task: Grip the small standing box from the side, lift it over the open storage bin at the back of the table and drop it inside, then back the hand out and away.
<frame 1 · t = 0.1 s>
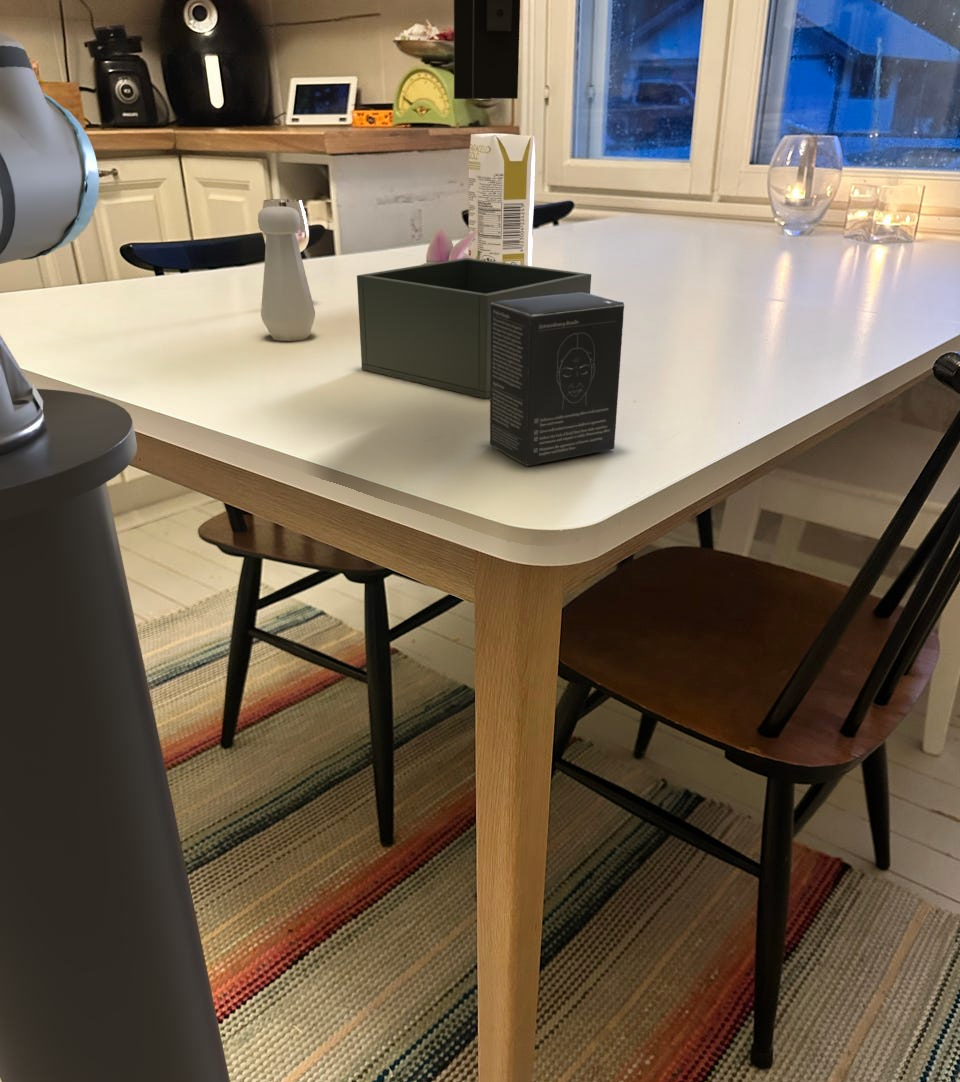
hand: (482, 99, 62), 23 cm above the table, tool pointing down, fingers open, 13 cm apart
lily: (442, 311, 115), on the table
salt shaker: (290, 338, 101), on the table
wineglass: (292, 305, 118), on the table
box: (550, 451, 69), on the table
open storage bin: (474, 368, 90), on the table
juice carton: (499, 286, 131), on the table
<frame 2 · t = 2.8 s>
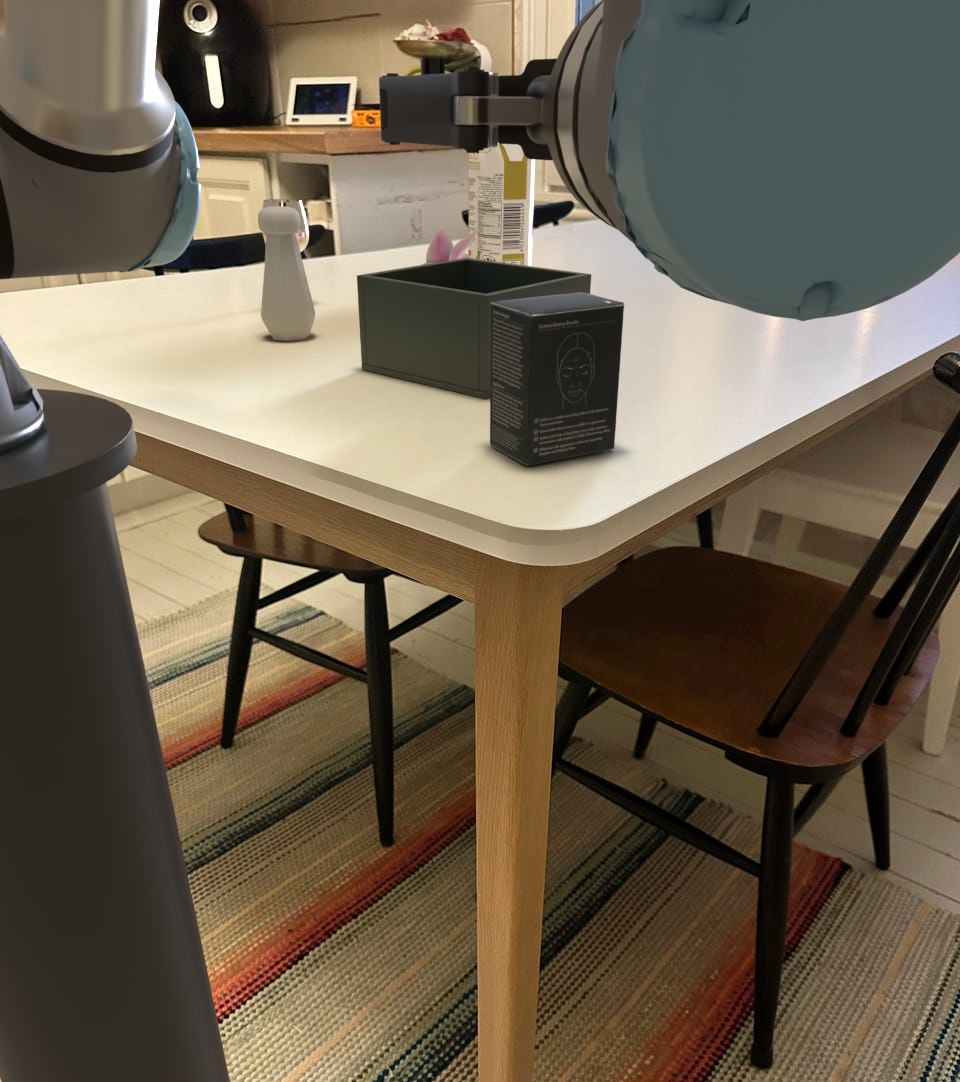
hand: (587, 110, 47), 22 cm above the table, tool horizontal, fingers open, 13 cm apart
nothing on the table moved.
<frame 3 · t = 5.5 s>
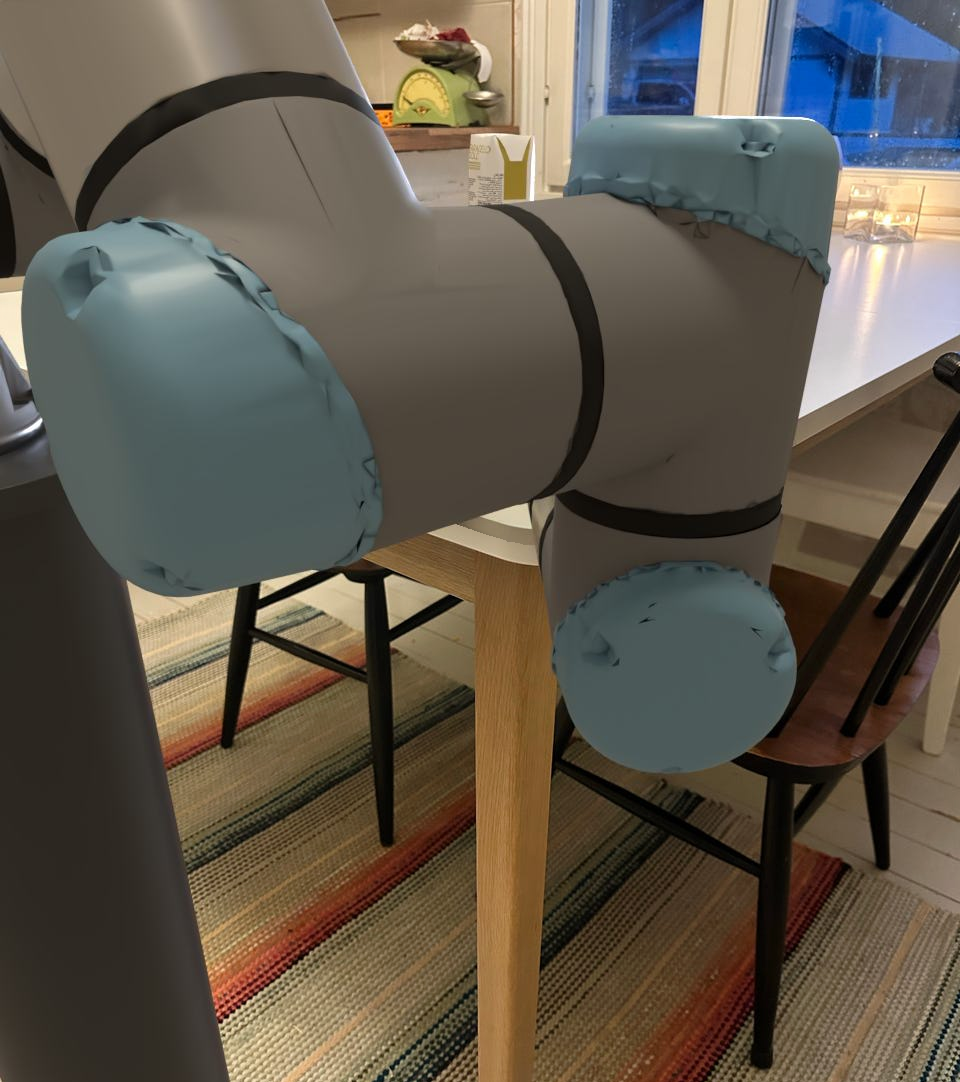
hand: (565, 386, 60), 6 cm above the table, tool horizontal, fingers open, 13 cm apart
nothing on the table moved.
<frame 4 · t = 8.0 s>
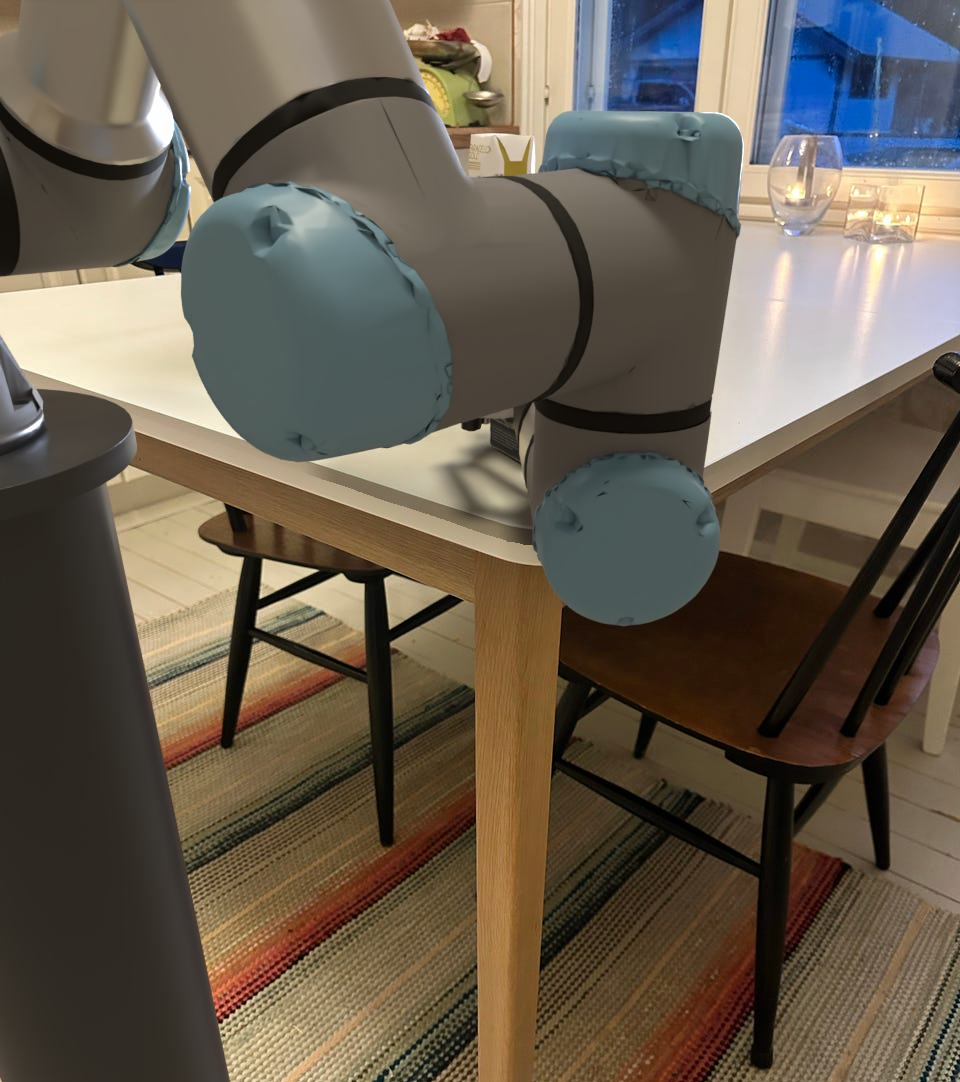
hand: (549, 346, 69), 6 cm above the table, tool horizontal, fingers closed on box, 9 cm apart
box: (551, 451, 69), on the table, touching gripper
everything else where it was.
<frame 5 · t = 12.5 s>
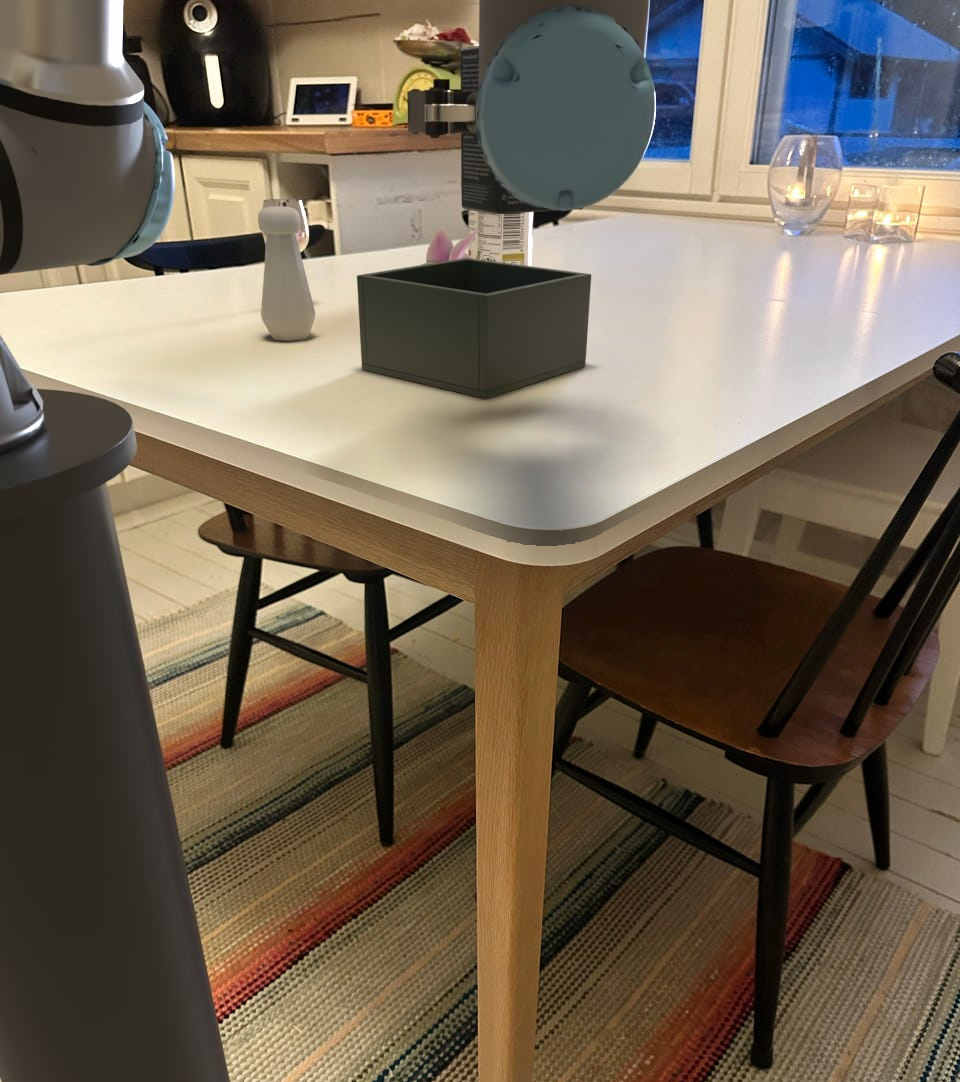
hand: (520, 111, 70), 22 cm above the table, tool horizontal, fingers closed on box, 9 cm apart
box: (521, 213, 70), point 15 cm above the table, touching gripper
everything else where it was.
when the fingers open (14 cm above the table, at t = 16.9 s): box drops 7 cm, resting on open storage bin.
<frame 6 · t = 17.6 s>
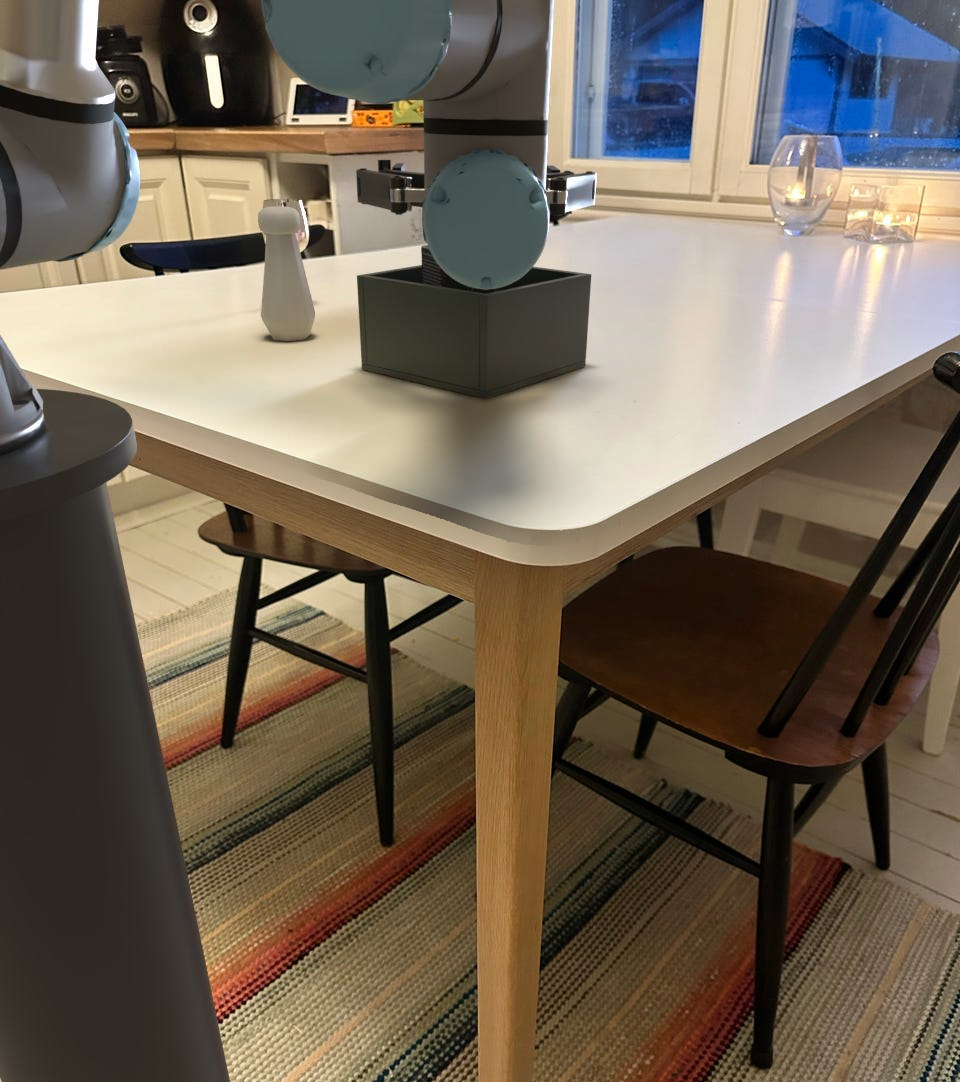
hand: (474, 180, 84), 16 cm above the table, tool horizontal, fingers open, 13 cm apart
box: (470, 364, 90), resting on open storage bin
everything else where it was.
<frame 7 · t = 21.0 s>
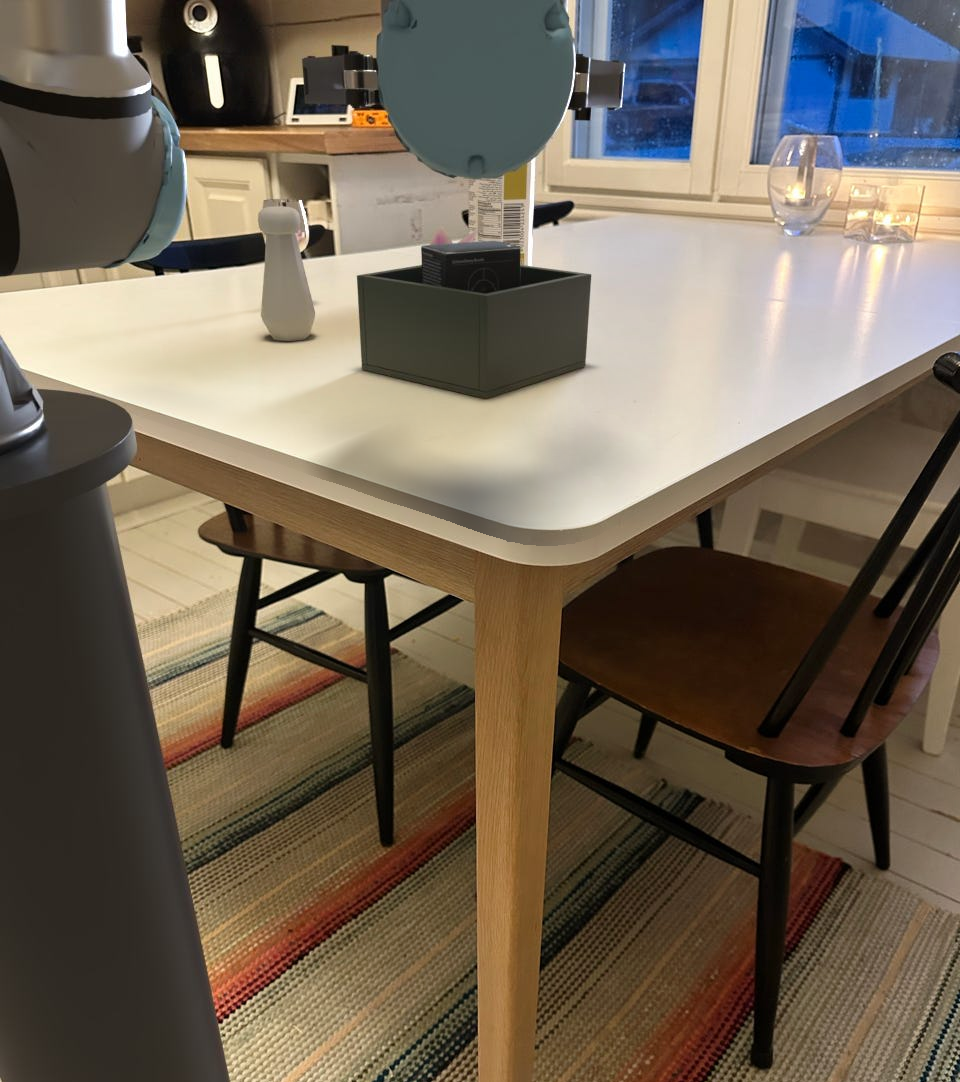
hand: (462, 85, 65), 23 cm above the table, tool horizontal, fingers open, 13 cm apart
nothing on the table moved.
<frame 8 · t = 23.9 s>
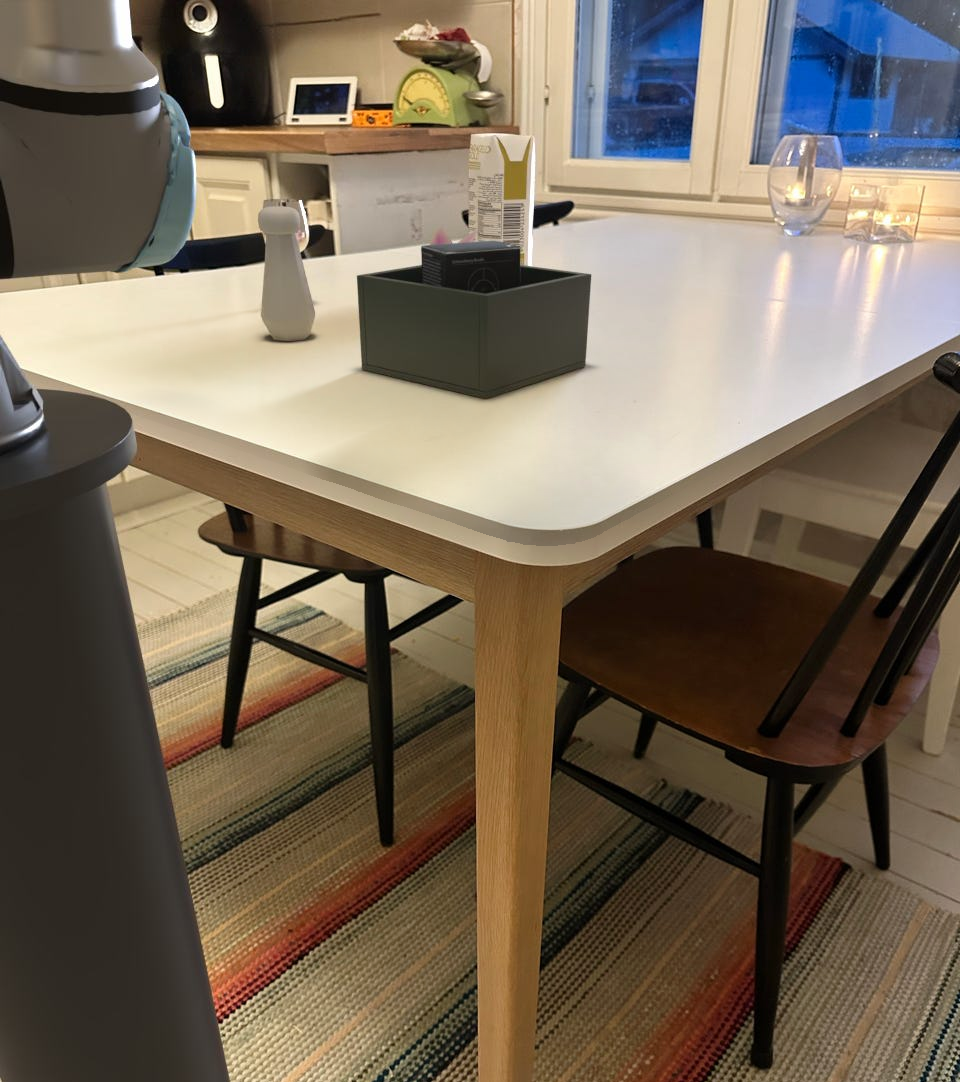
nothing on the table moved.
at the end: box inside the target area in the open storage bin (0.4 cm from its centre), point 0.4 cm above the open storage bin's base; the gripper is holding nothing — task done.
